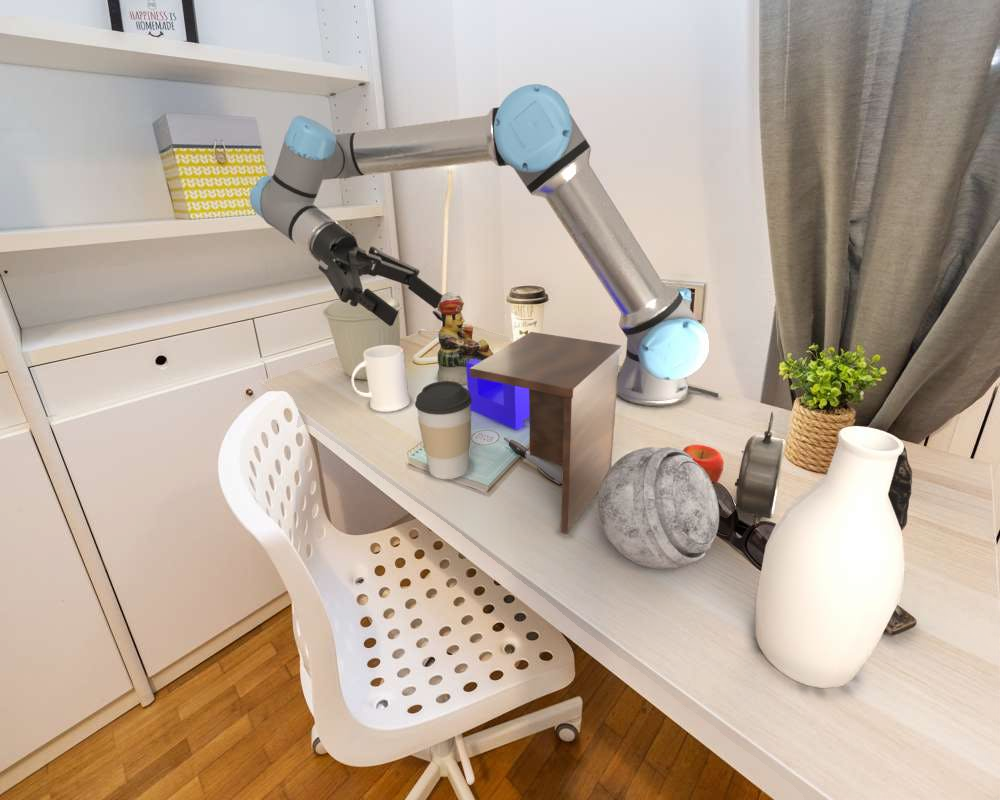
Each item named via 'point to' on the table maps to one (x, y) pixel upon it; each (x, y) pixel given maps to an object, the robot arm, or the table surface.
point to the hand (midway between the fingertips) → (418, 310)
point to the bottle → (834, 566)
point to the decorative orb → (659, 508)
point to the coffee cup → (445, 427)
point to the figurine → (456, 341)
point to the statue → (900, 503)
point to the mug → (384, 378)
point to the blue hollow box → (498, 400)
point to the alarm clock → (760, 474)
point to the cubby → (564, 407)
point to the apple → (707, 460)
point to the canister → (360, 332)
